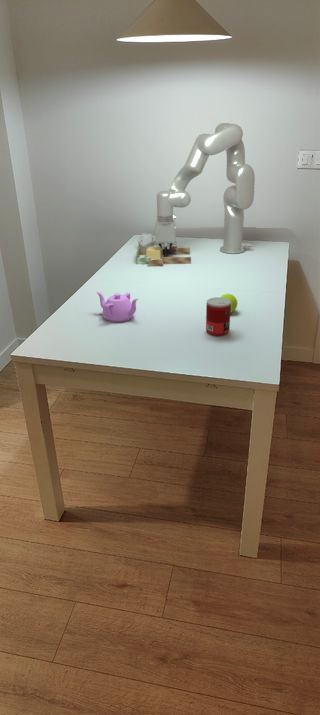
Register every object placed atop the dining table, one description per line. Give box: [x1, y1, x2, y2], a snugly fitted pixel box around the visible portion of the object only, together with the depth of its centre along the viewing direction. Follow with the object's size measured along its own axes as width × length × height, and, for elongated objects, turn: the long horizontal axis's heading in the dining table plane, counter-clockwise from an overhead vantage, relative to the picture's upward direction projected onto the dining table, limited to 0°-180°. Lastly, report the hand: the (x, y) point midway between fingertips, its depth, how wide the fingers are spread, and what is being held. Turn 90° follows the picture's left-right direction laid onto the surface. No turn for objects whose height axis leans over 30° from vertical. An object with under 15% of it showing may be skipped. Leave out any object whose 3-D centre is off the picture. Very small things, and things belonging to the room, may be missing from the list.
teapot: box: [95, 291, 139, 323], centre depth 185 cm, size 12×14×9 cm
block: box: [145, 246, 164, 260], centre depth 253 cm, size 7×7×4 cm
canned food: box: [205, 296, 231, 337], centre depth 172 cm, size 8×8×11 cm
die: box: [136, 233, 156, 249], centre depth 266 cm, size 8×9×10 cm
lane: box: [135, 245, 192, 267], centre depth 250 cm, size 26×23×4 cm
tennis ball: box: [220, 293, 238, 314], centre depth 188 cm, size 7×7×7 cm
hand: (165, 256), depth 251 cm, fingers closed
